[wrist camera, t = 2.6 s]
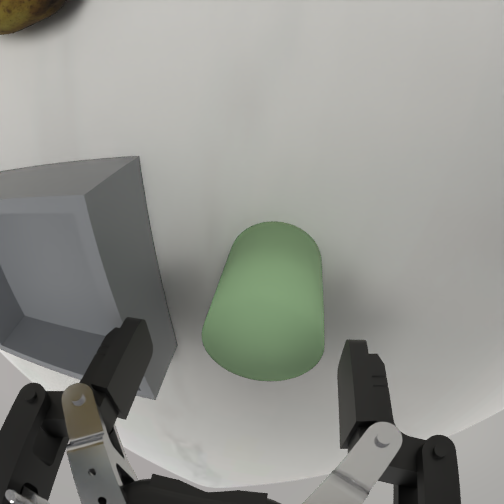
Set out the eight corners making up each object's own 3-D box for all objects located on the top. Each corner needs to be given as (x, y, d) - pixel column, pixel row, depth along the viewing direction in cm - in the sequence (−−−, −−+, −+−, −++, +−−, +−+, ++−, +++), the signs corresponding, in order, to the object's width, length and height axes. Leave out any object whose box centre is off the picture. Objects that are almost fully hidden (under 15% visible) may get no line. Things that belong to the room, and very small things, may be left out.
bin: (138, 156, 15) (84, 195, 11) (177, 345, 23) (155, 400, 19) (-26, 176, 17) (-70, 205, 13) (28, 313, 25) (0, 349, 21)
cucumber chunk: (325, 224, 16) (333, 305, 11) (316, 300, 19) (315, 384, 14) (227, 219, 17) (194, 294, 12) (232, 294, 19) (208, 374, 14)
